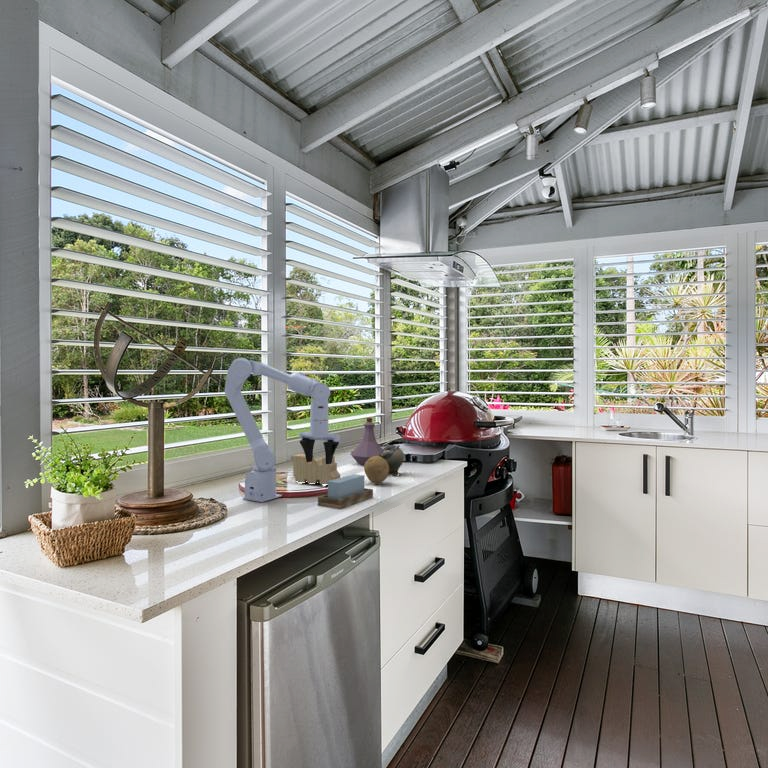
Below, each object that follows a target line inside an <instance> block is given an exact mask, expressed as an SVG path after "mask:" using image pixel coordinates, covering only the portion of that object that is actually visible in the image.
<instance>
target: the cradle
mask: <svg viewBox="0 0 768 768" xmlns="http://www.w3.org/2000/svg"><path fill="white" fill-rule="evenodd" d="M373 497H374V489H372V488H365V487H364V491H363V492H360V493H357V494H354V495H351V496H348V497H345V498H342V499H335V498H328V493H326V494H322V495H320V496H318V497H317V506H319V507H325V508H331V509H332V508H333V509H339V510H341V509H344V508H347V507H350V506H352V505H355V504H357V503H358V504H359V503H361V502H363V501H365V500H366V501H367V500H369V499H370V500H371V499H372V498H373Z"/></svg>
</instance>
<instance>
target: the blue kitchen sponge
mask: <svg viewBox="0 0 768 768" xmlns="http://www.w3.org/2000/svg"><path fill="white" fill-rule="evenodd" d="M365 476H366V474H364V475H363V474H357V473H352V474H350V475H346V476H342V477H340V478H338V479H334V480H331V481H328V486H327V494H328V498H335V499H342V498H345V497H348V496H351V495H354V494H357V493H360V492H363V491H364V488H365V482H366V481H365Z"/></svg>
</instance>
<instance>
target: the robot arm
mask: <svg viewBox="0 0 768 768" xmlns="http://www.w3.org/2000/svg"><path fill="white" fill-rule="evenodd" d="M251 374H252V377H254V376H264V377H267V378H268V379H273V380H276V381H278V382H280V383H283V384H286V386H287V388H288V390H290V391H292V392H295V393H298V394H300V395H302V396H306V397H309V396H310V398H311V399H310V420H309V421H310V422H309V425H310V426H309V428H310V431H309V432H304V431H303V432H299V436H298V437H299V439H300V440H299V444H300V446H301V447H302V450H303V454H305V456H306V461H307V462H311V461H312V460H313V455H314V446H315V442H316V441H322V443H323V448H324V453H325V456H324V457H325V459H326V464H331V463H332V459H333V456H334V455H335V452H336V450H337V448H338V446H339V444H340V440H341V439H340V437H341V436H340V434H333V433H329V408H330V407H329V398H330V396H331V391H330V388H329V386H328V385H327V384H326V383H324V382H321V381H318V378H312V377H311V378H310V377H308V376H306V375H304V373H303V372H301V371H299V372H294V373H293V372H292V373H291V374H289V373H287V372H285V371H282V370H280V369H278V368H275V367H273V366H270V365H268V364H265V363H263V362H261V361H257V360H256V361H255V360H251V359H250V360H248V358H245V357H238V358H236V359H234V360H233V361H232V362H231V363H230V366H229V368H228V369H227V374H226V380H225V385H224V394H225V396H226V398H227V400H228V403H229V404H230V406H231V408H232V410H233V412H234V415H235V416H236V419H237V420H238V423H239V424H240V427H241V429H242V430H243V433H244V435H245V437H246V439H247V441H248V443H249V445H250V447H251V448H250V449H251V450H252V452H253V459H254V464H255V465H253V466H252V470H251V471H250V472H248V473H247V474H246V475H245V478H244V496H243V497H242V499H243V500H246V501H254V502H260V503H263V502H268V501H270V500H274V499H277V498H281V497H282V496H283V495H282V494H279V493H277V466H275V464H276V461H277V457H276V455H275V451H274V449H272V447H270V446H269V445H268V444H267V443H266V440H265V439H264V437H263V435H262V431H261V430H260V428H259V426H258V425H257V422H256V420H255V418H254V416H253V414H252V412H251V410H250V408H249V405H248V404H247V402H246V399H245V397H244V395H243V393H242V390H243V386H244V384H245V381H246V380H247V379H248V378H249V377H250V375H251Z"/></svg>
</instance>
